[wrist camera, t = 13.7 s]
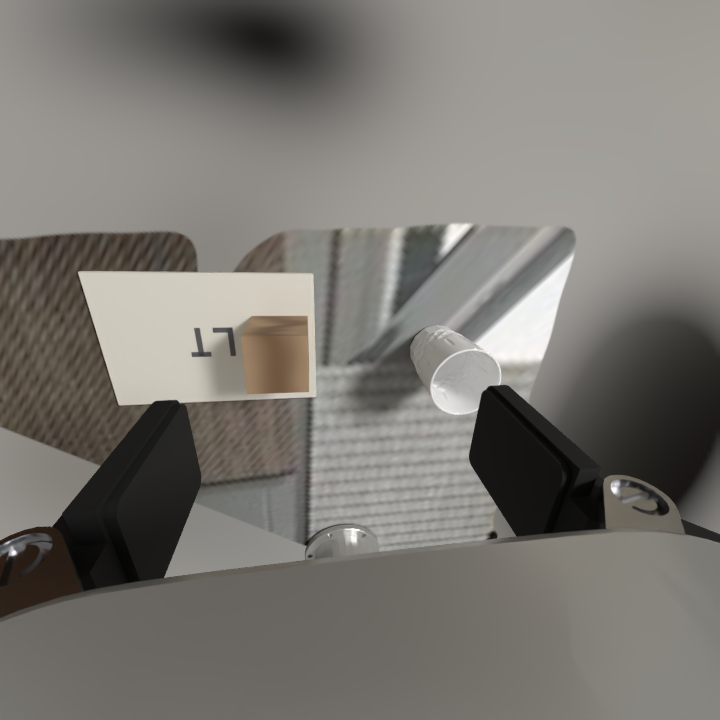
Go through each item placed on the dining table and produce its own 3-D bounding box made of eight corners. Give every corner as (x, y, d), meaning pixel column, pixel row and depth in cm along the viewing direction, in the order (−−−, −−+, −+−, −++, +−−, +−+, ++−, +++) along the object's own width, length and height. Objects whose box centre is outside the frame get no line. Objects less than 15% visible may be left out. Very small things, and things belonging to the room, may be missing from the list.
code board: (313, 273, 38) (313, 273, 37) (316, 394, 44) (316, 397, 44) (81, 270, 35) (77, 272, 34) (121, 402, 41) (118, 405, 40)
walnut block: (307, 315, 39) (307, 335, 33) (309, 364, 42) (309, 391, 35) (251, 316, 38) (240, 336, 32) (256, 366, 41) (247, 394, 35)
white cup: (421, 311, 42) (452, 338, 33) (472, 331, 44) (515, 362, 35) (395, 365, 44) (417, 404, 35) (445, 382, 46) (478, 422, 37)
